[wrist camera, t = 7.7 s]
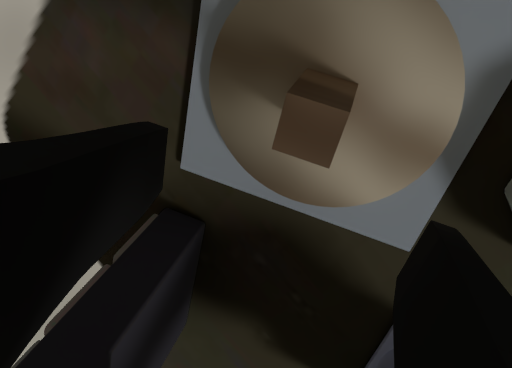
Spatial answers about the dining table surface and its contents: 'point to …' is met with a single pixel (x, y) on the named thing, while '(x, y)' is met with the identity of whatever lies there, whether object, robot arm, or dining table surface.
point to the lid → (336, 94)
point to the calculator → (128, 302)
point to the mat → (415, 194)
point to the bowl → (509, 193)
